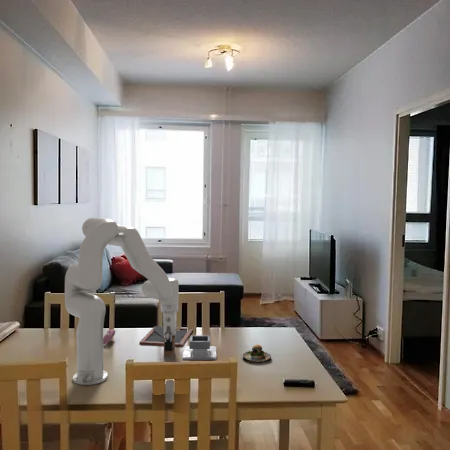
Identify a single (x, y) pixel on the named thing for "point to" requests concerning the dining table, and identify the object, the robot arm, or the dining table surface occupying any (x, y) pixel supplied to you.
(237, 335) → the dining table surface
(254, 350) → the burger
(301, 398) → the dining table surface
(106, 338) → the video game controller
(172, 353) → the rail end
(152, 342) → the picture frame
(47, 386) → the dining table surface
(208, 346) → the cup bracket
